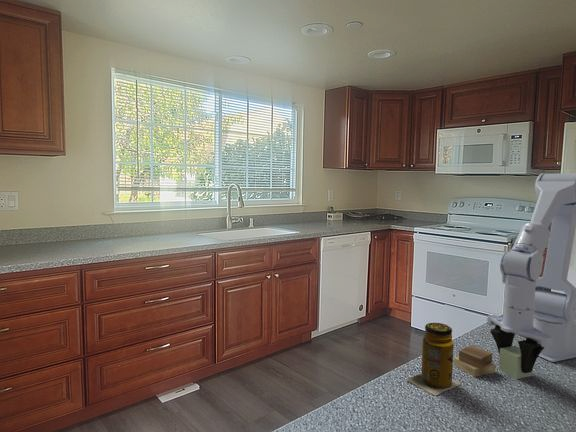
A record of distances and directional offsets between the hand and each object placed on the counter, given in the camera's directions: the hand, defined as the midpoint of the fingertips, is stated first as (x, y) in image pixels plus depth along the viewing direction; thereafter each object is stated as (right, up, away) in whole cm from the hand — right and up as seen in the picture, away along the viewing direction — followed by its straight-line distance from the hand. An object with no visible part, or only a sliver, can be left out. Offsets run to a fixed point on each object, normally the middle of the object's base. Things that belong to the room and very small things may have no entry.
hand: (515, 366), depth 86 cm
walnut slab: (-8, 0, +2) cm, 8 cm away
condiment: (-20, -2, -4) cm, 20 cm away
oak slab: (-8, -2, +2) cm, 9 cm away
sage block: (0, -2, 0) cm, 2 cm away
